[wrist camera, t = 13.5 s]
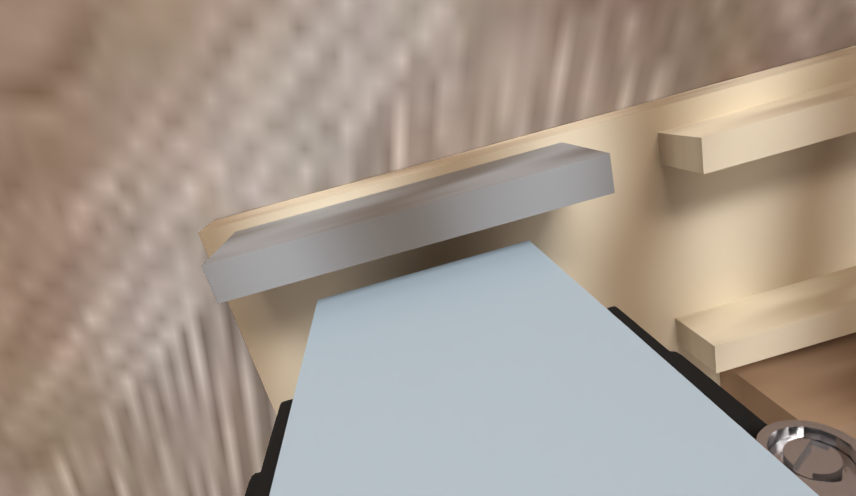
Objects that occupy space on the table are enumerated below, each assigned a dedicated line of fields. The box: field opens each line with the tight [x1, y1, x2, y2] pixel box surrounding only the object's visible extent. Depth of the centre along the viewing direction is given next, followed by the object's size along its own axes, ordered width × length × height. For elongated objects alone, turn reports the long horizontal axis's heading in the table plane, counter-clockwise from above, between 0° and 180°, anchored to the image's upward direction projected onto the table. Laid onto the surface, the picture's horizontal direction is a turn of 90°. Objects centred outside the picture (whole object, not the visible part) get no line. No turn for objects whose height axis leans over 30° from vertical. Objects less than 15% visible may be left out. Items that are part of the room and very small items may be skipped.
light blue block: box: [269, 241, 819, 496], centre depth 9 cm, size 6×4×11 cm
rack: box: [199, 46, 856, 416], centre depth 16 cm, size 26×15×4 cm, turn 104°
